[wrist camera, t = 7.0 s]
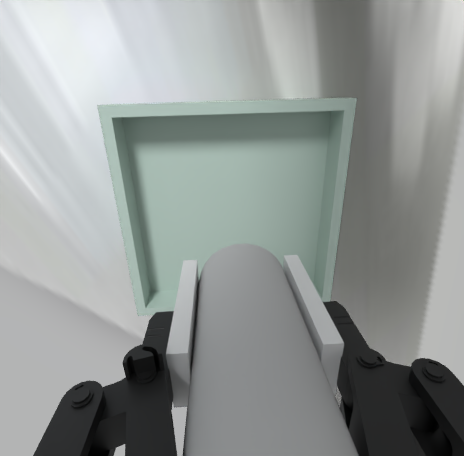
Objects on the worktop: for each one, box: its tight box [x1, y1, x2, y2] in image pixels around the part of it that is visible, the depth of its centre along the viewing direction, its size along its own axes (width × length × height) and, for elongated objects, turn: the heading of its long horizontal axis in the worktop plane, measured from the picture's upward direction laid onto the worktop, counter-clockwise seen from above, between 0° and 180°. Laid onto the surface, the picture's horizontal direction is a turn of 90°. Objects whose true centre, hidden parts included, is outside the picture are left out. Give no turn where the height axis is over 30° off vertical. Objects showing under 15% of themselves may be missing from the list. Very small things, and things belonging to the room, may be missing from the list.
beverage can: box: [183, 243, 359, 456], centre depth 12 cm, size 5×5×12 cm
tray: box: [97, 98, 357, 316], centre depth 26 cm, size 18×18×3 cm
